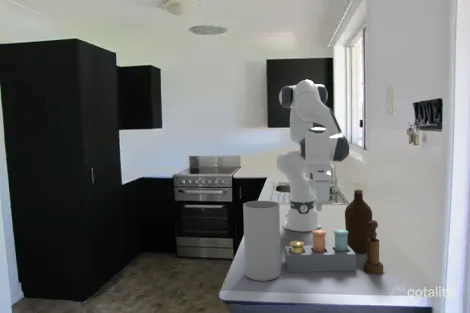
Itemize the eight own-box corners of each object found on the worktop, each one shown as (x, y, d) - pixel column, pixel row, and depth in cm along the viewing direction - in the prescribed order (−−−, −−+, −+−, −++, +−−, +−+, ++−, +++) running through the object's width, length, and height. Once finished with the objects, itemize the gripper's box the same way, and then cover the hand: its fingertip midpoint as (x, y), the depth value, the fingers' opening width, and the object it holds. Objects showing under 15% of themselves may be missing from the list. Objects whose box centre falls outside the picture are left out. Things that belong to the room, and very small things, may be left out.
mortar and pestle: (386, 269, 130) (386, 220, 129) (379, 275, 125) (379, 224, 124) (367, 265, 135) (367, 217, 133) (360, 271, 130) (360, 221, 128)
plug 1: (289, 261, 139) (289, 240, 138) (303, 260, 138) (302, 240, 138) (291, 266, 134) (291, 245, 133) (305, 266, 133) (304, 245, 133)
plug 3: (332, 250, 138) (332, 229, 137) (346, 249, 137) (346, 229, 137) (335, 254, 133) (335, 233, 132) (349, 254, 132) (349, 233, 132)
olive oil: (377, 254, 146) (377, 191, 144) (351, 255, 145) (351, 193, 143) (365, 245, 157) (365, 187, 155) (340, 246, 156) (340, 188, 154)
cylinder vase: (260, 264, 138) (259, 199, 136) (287, 273, 130) (286, 203, 128) (237, 275, 130) (235, 205, 127) (265, 285, 121) (263, 210, 119)
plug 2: (311, 250, 138) (310, 230, 137) (324, 250, 138) (324, 229, 137) (313, 255, 133) (313, 234, 132) (327, 254, 133) (327, 233, 132)
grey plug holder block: (285, 261, 141) (284, 246, 141) (348, 260, 140) (348, 245, 140) (288, 271, 131) (287, 255, 131) (356, 270, 130) (356, 254, 130)
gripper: (304, 169, 143) (305, 204, 144) (313, 176, 123) (314, 217, 124) (321, 169, 143) (321, 204, 144) (332, 176, 123) (333, 216, 124)
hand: (318, 210), depth 134 cm, fingers closed
